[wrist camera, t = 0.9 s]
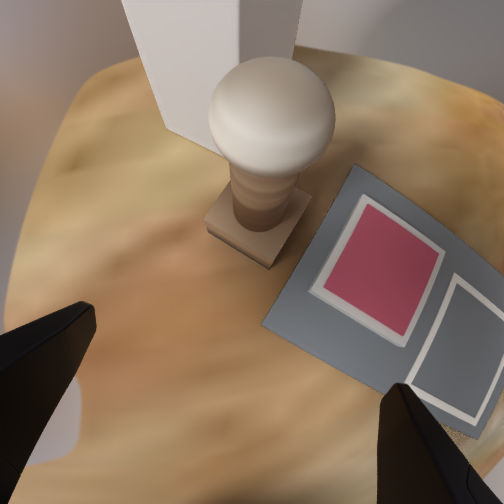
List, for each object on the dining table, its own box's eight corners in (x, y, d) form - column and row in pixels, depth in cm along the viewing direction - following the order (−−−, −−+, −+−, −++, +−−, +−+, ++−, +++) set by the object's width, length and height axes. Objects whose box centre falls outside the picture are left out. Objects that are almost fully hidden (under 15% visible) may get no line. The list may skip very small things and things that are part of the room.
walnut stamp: (268, 269, 22) (315, 179, 8) (208, 232, 22) (156, 97, 8) (304, 211, 23) (380, 70, 8) (245, 177, 23) (250, 12, 9)
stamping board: (473, 438, 19) (485, 443, 18) (260, 324, 21) (262, 325, 19) (528, 304, 22) (540, 303, 20) (352, 167, 24) (359, 156, 22)
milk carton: (213, 74, 25) (197, -119, 7) (283, 105, 25) (323, -107, 6) (166, 129, 24) (94, -83, 5) (239, 166, 24) (238, -91, 5)
